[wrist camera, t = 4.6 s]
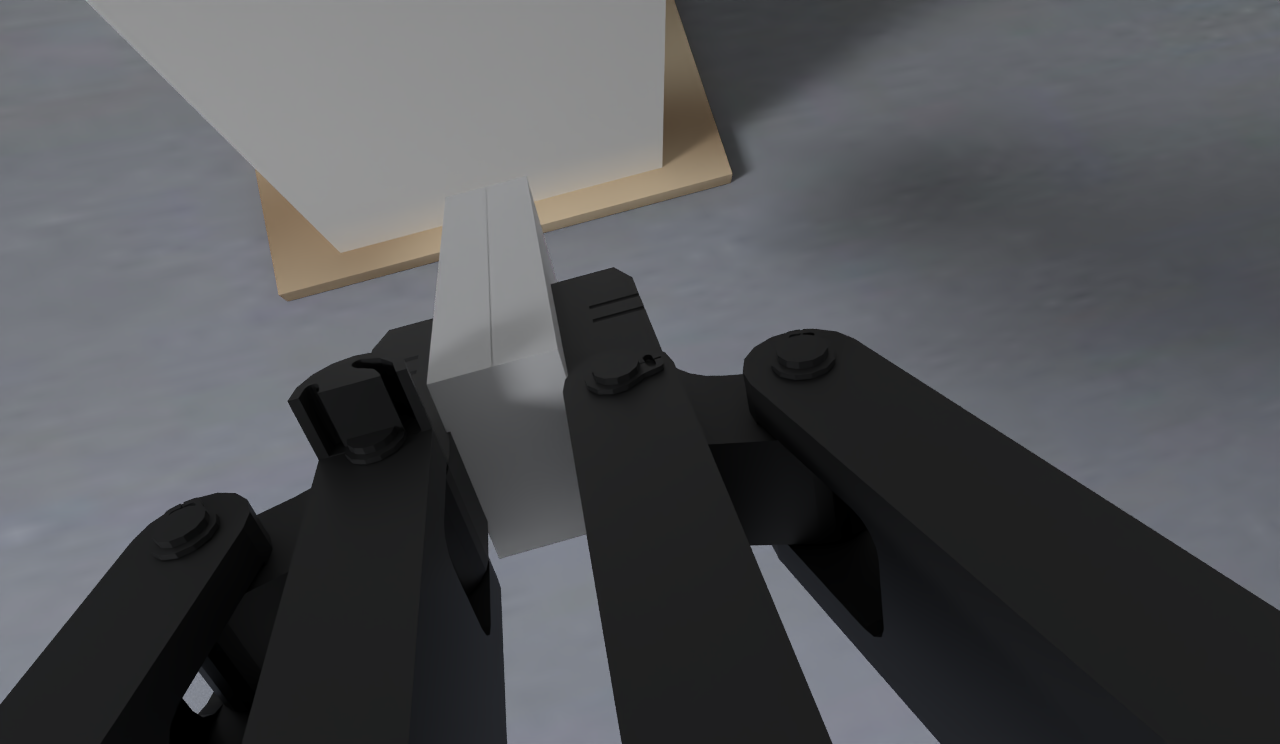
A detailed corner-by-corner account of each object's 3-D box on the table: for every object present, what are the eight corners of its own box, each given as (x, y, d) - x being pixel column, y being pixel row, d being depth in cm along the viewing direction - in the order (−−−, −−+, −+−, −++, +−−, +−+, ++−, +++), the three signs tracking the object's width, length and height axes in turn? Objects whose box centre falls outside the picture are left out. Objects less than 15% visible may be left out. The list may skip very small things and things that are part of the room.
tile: (662, 167, 25) (672, -311, 11) (340, 252, 24) (-54, -138, 11) (639, 95, 25) (622, -442, 12) (324, 177, 25) (-69, -284, 11)
